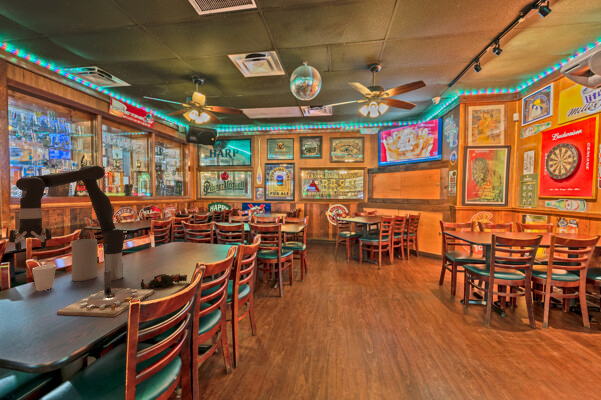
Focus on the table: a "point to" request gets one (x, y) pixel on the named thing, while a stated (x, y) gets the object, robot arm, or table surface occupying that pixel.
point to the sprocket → (108, 295)
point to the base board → (108, 310)
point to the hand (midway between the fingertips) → (31, 249)
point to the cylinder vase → (84, 259)
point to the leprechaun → (164, 280)
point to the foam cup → (44, 276)
